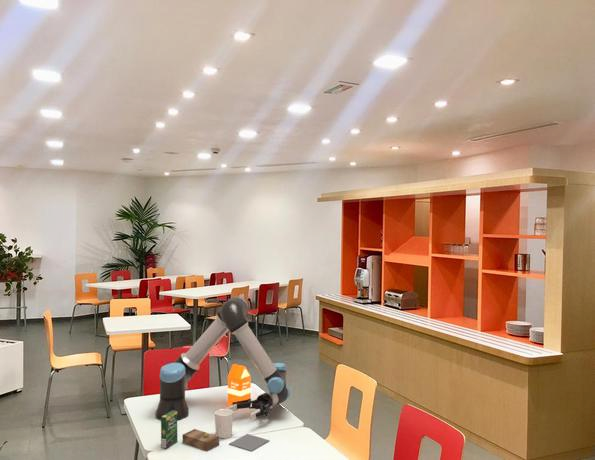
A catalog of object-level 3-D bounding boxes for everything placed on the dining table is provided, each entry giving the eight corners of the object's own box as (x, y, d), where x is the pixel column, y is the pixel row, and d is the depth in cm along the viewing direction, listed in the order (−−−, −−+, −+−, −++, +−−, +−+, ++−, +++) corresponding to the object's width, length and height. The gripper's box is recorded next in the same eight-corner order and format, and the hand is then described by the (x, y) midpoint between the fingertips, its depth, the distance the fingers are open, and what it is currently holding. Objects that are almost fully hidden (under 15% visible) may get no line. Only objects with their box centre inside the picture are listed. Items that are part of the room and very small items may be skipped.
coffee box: (166, 449, 203) (166, 417, 203) (160, 448, 204) (160, 416, 204) (177, 442, 211) (178, 410, 211) (172, 440, 212) (172, 409, 212)
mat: (228, 444, 208) (228, 443, 208) (247, 434, 218) (247, 433, 218) (251, 451, 202) (251, 450, 202) (269, 441, 212) (269, 440, 212)
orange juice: (237, 400, 262) (238, 362, 261) (250, 404, 256) (250, 364, 256) (227, 404, 255) (227, 365, 255) (240, 408, 250) (240, 368, 250)
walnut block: (182, 443, 210) (182, 431, 210) (194, 437, 216) (194, 426, 216) (207, 451, 202) (207, 439, 202) (219, 445, 208) (219, 433, 208)
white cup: (229, 439, 213) (229, 416, 213) (211, 438, 215) (212, 414, 215) (235, 432, 221) (235, 409, 221) (218, 430, 222) (218, 408, 222)
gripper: (288, 413, 237) (260, 428, 219) (246, 403, 250) (217, 416, 233) (288, 397, 237) (260, 411, 219) (246, 388, 250) (217, 400, 233)
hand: (238, 414), depth 226 cm, fingers open, 13 cm apart
